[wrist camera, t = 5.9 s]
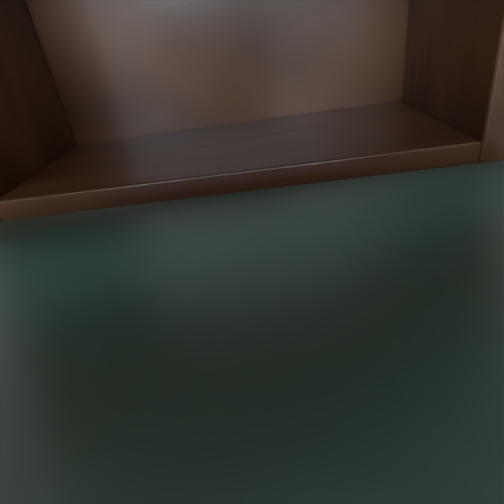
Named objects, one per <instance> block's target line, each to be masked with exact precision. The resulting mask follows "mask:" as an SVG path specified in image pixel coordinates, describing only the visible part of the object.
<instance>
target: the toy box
mask: <svg viewBox="0 0 504 504" xmlns="http://www.w3.org/2000/svg"><path fill="white" fill-rule="evenodd" d="M500 160H504V0H0V221H6V220H15V219H23V218H31V217H39V216H47V215H56V214H64V213H72V212H80V211H89V210H97V209H105V208H113V207H122V206H130V205H138V204H146V203H154V202H163V201H171V200H179V199H187V198H196V197H204V196H212V195H220V194H229V193H237V192H245V191H253V190H261V189H270V188H278V187H286V186H294V185H303V184H311V183H319V182H327V181H336V180H344V179H352V178H360V177H368V176H377V175H385V174H393V173H401V172H410V171H418V170H426V169H434V168H443V167H451V166H459V165H467V164H475V163H484V162H492V161H500Z"/></svg>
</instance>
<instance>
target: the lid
mask: <svg viewBox="0 0 504 504" xmlns="http://www.w3.org/2000/svg"><path fill="white" fill-rule="evenodd" d="M0 504H504V160H500V161H492V162H484V163H475V164H467V165H459V166H451V167H443V168H434V169H426V170H418V171H410V172H401V173H393V174H385V175H377V176H368V177H360V178H352V179H344V180H336V181H327V182H319V183H311V184H303V185H294V186H286V187H278V188H270V189H261V190H253V191H245V192H237V193H229V194H220V195H212V196H204V197H196V198H187V199H179V200H171V201H163V202H154V203H146V204H138V205H130V206H122V207H113V208H105V209H97V210H89V211H80V212H72V213H64V214H56V215H47V216H39V217H31V218H23V219H15V220H6V221H0Z"/></svg>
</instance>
